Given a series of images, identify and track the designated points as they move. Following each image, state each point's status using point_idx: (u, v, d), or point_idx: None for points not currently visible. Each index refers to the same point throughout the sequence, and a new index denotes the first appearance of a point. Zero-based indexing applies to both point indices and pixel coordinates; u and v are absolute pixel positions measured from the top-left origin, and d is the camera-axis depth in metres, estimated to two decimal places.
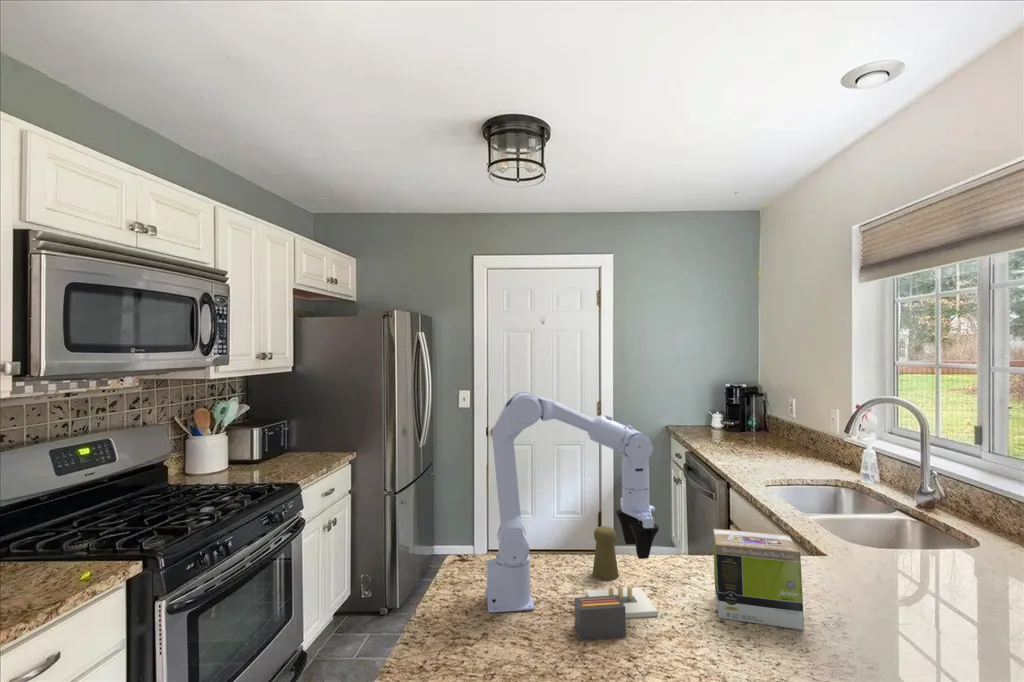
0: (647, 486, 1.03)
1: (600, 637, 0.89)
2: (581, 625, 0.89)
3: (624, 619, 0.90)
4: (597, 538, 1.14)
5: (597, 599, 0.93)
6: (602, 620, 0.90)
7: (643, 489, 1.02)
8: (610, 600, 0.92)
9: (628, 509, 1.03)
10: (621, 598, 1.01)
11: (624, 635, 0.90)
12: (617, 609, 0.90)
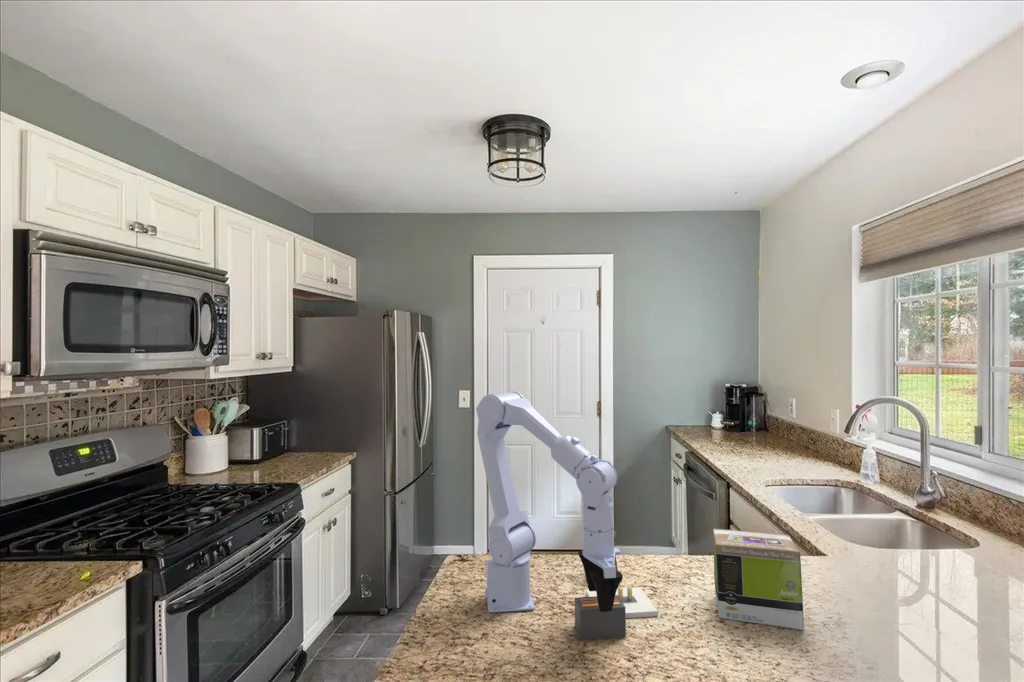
0: (602, 529, 0.89)
1: (600, 637, 0.89)
2: (581, 625, 0.89)
3: (624, 619, 0.90)
4: None
5: None
6: (602, 620, 0.90)
7: (606, 531, 0.90)
8: None
9: (589, 553, 0.90)
10: (621, 598, 1.01)
11: (624, 635, 0.90)
12: (617, 609, 0.90)
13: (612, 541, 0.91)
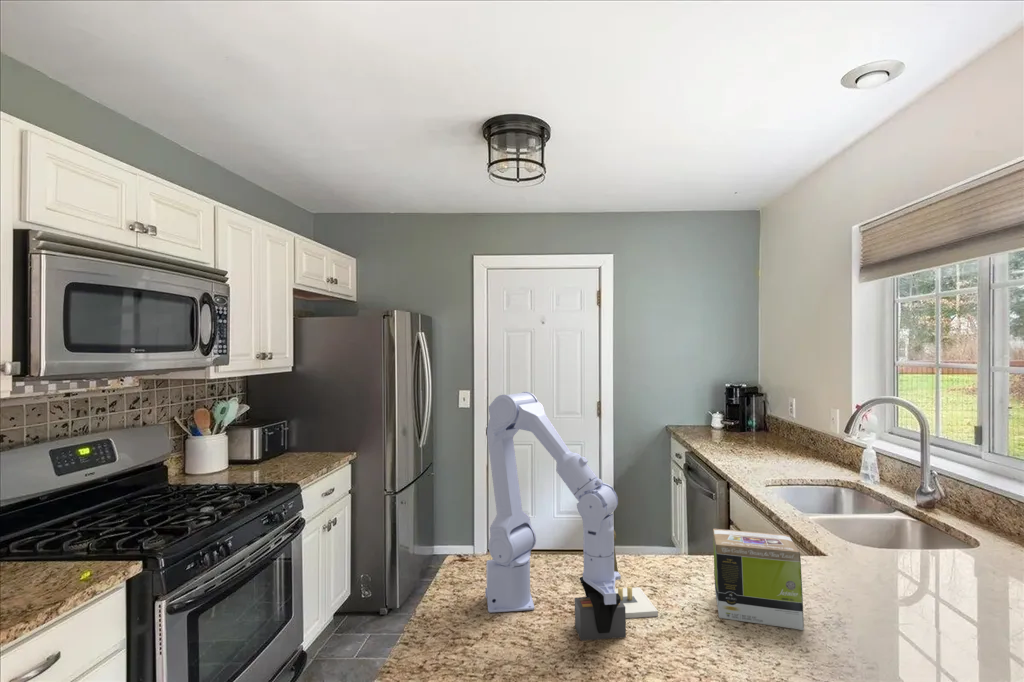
0: (603, 554, 0.89)
1: (600, 637, 0.89)
2: (581, 625, 0.89)
3: (624, 619, 0.90)
4: None
5: None
6: None
7: (606, 556, 0.89)
8: None
9: (589, 578, 0.90)
10: (621, 598, 1.01)
11: (624, 635, 0.90)
12: (617, 609, 0.90)
13: (612, 566, 0.90)
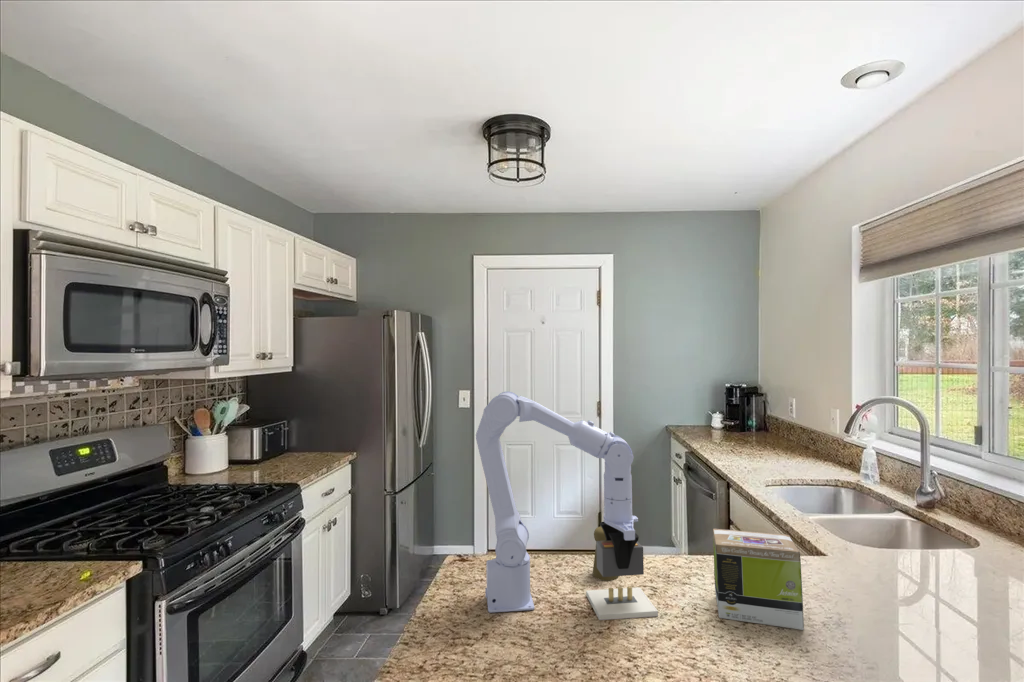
0: (628, 496, 0.99)
1: (620, 574, 0.99)
2: (603, 563, 0.98)
3: (642, 558, 0.99)
4: (597, 538, 1.14)
5: None
6: None
7: (625, 499, 0.99)
8: None
9: (610, 520, 0.99)
10: (621, 598, 1.01)
11: (642, 572, 0.99)
12: (635, 549, 0.99)
13: (631, 509, 1.00)
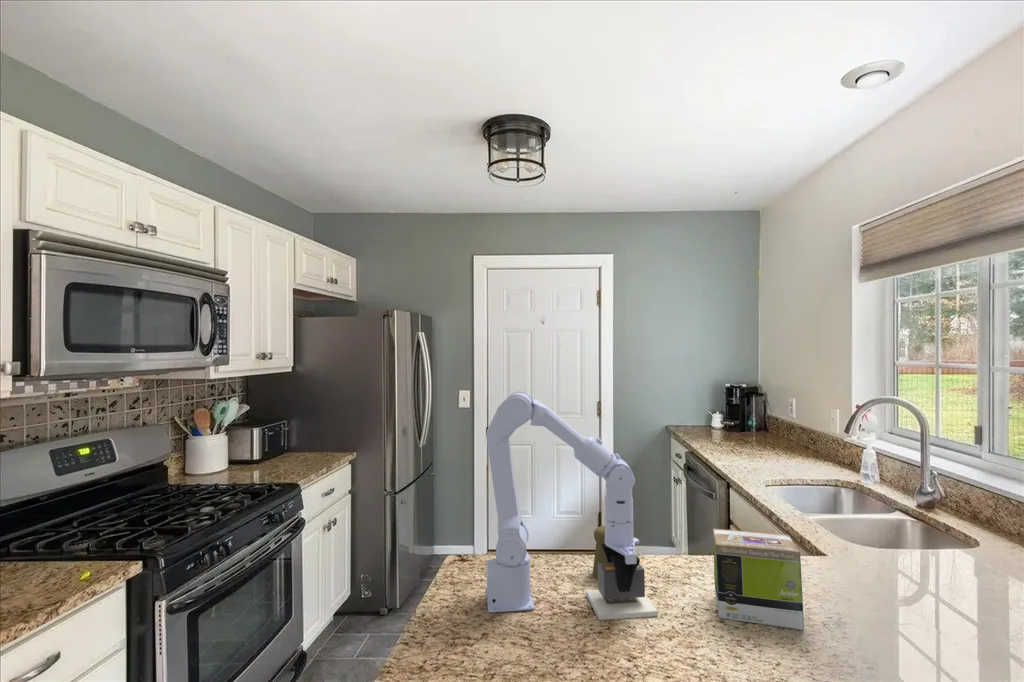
0: (630, 519, 1.00)
1: (622, 597, 0.99)
2: (605, 586, 0.99)
3: (643, 580, 1.00)
4: (597, 538, 1.14)
5: None
6: None
7: (626, 522, 0.99)
8: None
9: (611, 542, 1.00)
10: None
11: (643, 595, 1.00)
12: (637, 571, 1.00)
13: (632, 531, 1.00)
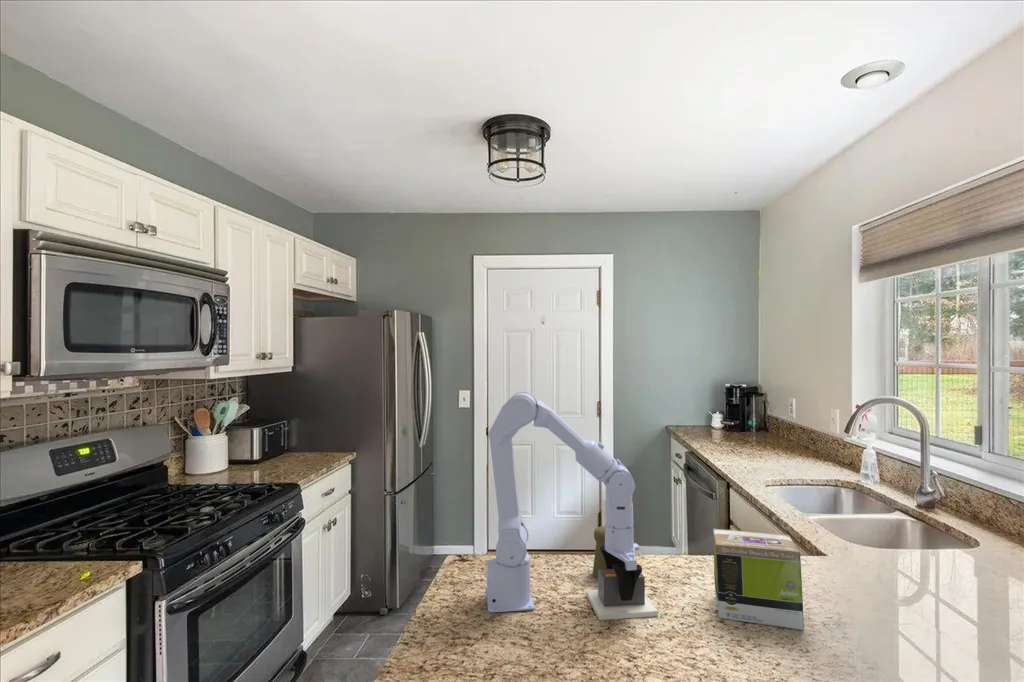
0: (630, 525, 1.00)
1: (621, 604, 0.99)
2: (604, 592, 0.99)
3: (643, 588, 1.00)
4: (597, 538, 1.14)
5: None
6: None
7: (626, 528, 0.99)
8: None
9: (611, 548, 1.00)
10: None
11: (643, 602, 1.00)
12: (637, 579, 1.00)
13: (632, 537, 1.00)
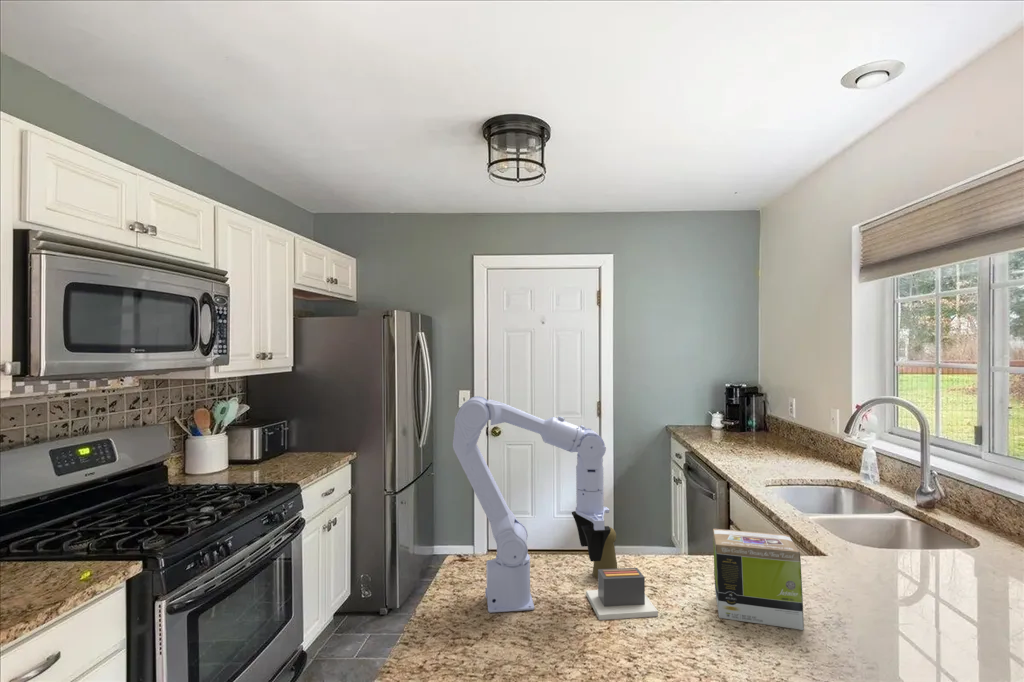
0: (600, 487, 1.01)
1: (621, 604, 0.99)
2: (604, 592, 0.99)
3: (643, 588, 1.00)
4: None
5: (619, 570, 1.02)
6: (623, 588, 0.99)
7: (596, 490, 1.01)
8: (630, 571, 1.02)
9: (581, 510, 1.01)
10: None
11: (643, 602, 1.00)
12: (637, 579, 1.00)
13: (602, 500, 1.02)
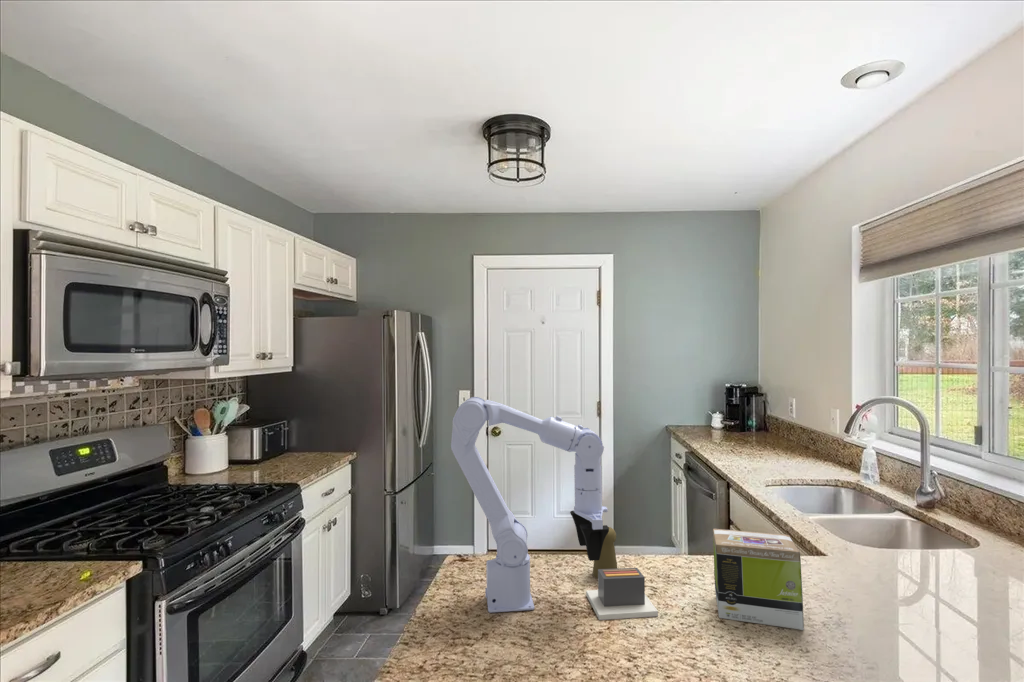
0: (598, 487, 1.01)
1: (621, 604, 0.99)
2: (604, 592, 0.99)
3: (643, 588, 1.00)
4: None
5: (619, 570, 1.02)
6: (623, 588, 0.99)
7: (594, 490, 1.01)
8: (630, 571, 1.02)
9: (580, 510, 1.01)
10: None
11: (643, 602, 1.00)
12: (637, 579, 1.00)
13: (600, 499, 1.02)
